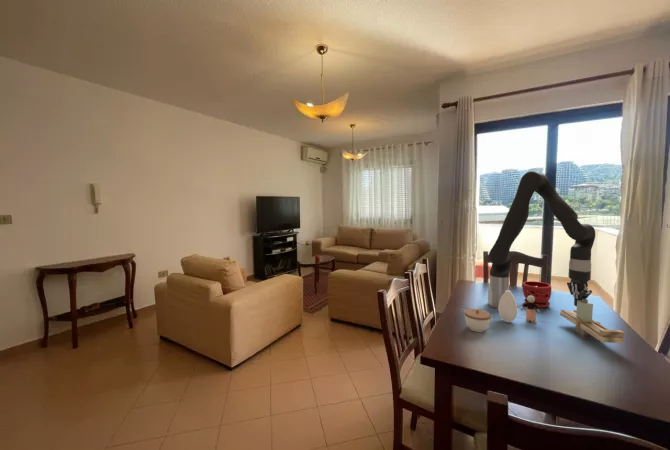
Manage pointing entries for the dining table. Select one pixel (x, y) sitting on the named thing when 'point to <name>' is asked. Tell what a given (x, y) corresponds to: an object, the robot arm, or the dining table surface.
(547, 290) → the plant pot
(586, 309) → the block
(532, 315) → the grandmother figurine
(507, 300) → the white teardrop vase
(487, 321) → the lidded jar
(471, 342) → the dining table surface
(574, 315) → the beam
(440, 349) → the dining table surface
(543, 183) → the robot arm
